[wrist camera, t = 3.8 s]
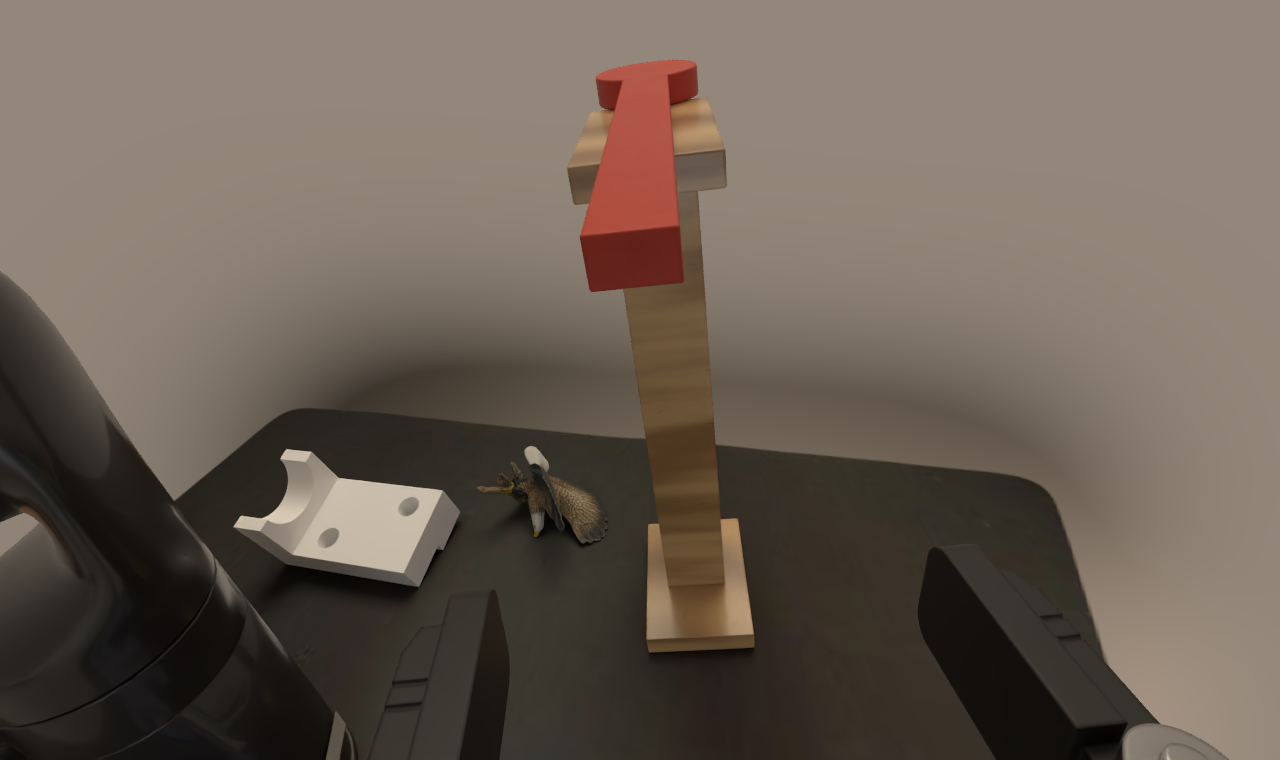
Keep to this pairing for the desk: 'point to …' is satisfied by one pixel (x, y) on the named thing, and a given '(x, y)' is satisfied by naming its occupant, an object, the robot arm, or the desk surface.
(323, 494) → the bracket
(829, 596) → the desk surface
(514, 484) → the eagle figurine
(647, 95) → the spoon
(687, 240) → the stand
